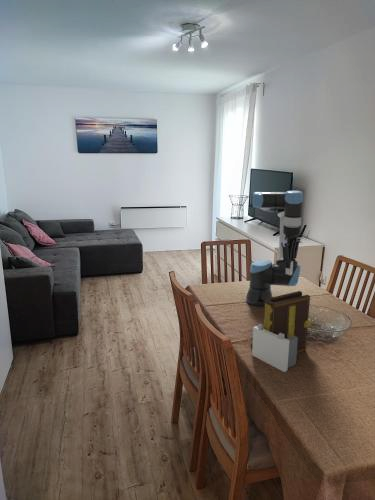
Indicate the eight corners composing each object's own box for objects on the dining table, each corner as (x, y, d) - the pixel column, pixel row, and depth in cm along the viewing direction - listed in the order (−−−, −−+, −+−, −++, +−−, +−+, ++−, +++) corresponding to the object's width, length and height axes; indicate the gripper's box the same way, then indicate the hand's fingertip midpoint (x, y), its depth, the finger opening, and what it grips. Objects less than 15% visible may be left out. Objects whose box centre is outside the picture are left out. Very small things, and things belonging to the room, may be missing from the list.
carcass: (264, 348, 158) (265, 316, 154) (296, 364, 146) (298, 330, 143) (252, 355, 153) (253, 322, 149) (284, 372, 141) (286, 337, 137)
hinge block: (253, 340, 165) (254, 332, 164) (262, 342, 163) (262, 334, 162) (250, 344, 162) (251, 336, 161) (259, 346, 160) (259, 338, 159)
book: (271, 363, 147) (274, 306, 141) (258, 353, 155) (261, 298, 148) (312, 349, 157) (317, 295, 150) (298, 341, 164) (302, 289, 157)
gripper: (292, 221, 172) (289, 268, 179) (276, 226, 164) (274, 275, 171) (306, 224, 167) (303, 272, 174) (291, 229, 159) (288, 280, 166)
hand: (288, 274), depth 173 cm, fingers closed
